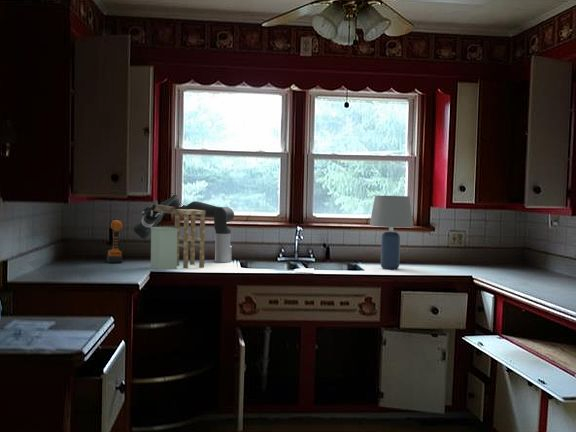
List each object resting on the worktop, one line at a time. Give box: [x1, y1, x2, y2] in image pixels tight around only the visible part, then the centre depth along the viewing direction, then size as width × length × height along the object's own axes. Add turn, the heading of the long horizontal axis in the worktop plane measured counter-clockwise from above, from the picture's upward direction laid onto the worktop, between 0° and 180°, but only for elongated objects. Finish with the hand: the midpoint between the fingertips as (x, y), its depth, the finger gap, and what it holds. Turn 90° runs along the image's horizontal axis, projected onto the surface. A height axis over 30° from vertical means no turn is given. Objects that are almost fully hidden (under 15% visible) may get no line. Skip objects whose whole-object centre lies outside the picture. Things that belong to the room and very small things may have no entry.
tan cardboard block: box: [151, 203, 175, 215], centre depth 322 cm, size 4×28×4 cm, turn 32°
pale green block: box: [150, 226, 178, 270], centre depth 321 cm, size 11×15×22 cm
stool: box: [174, 209, 206, 269], centre depth 329 cm, size 12×16×32 cm
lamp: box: [369, 195, 414, 271], centre depth 341 cm, size 25×25×43 cm
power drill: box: [106, 218, 123, 264], centre depth 342 cm, size 22×7×25 cm, turn 25°
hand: (158, 205), depth 329 cm, fingers closed on tan cardboard block, 3 cm apart
